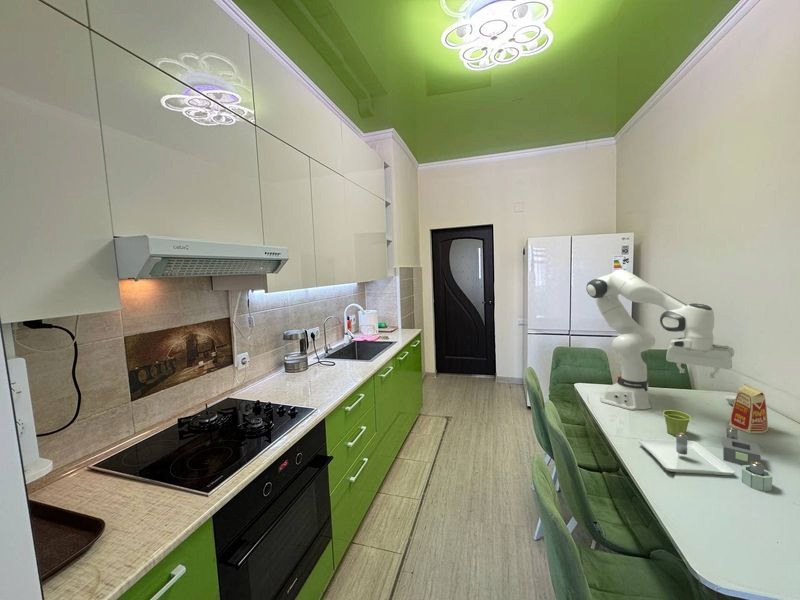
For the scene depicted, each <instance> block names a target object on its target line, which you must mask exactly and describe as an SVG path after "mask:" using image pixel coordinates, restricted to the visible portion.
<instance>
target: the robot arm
mask: <svg viewBox="0 0 800 600" xmlns="http://www.w3.org/2000/svg"><path fill="white" fill-rule="evenodd" d="M586 292H587V294H588V295H589V296H590V298H593V299H595V303H596V306H597V307H598V310H599V312H600V314H601V315H602V316H603V318H604V320H605V321H606V324H607V325H608V327H609V328H610V329H612V330H613V331H615V332H617V333H619V335H617V336H616V337H614V339H612V341H611V348H612V350H613V351H614V352H615V353H616V354H617V355H618V358H619V361H620V373H621V374H618V375H617V376H616V377H617V378H616V383H613V384H611V385H610V386H607V387H606V389H605V392H604V393H603V394H601V395H600V396H599V401H600V402H601V403H604V404H607V405H612V406H614V407H617V408H618V407H619V408H623V409H626V410H629V411H636V410H647V409H648V410H649V409H650V408H651V407H652V405H651V403H650V402H651V401H650V398H649V395H648V394H649V393H648V390H649V381H648V368H647V367H648V366H647V364H646V363H645V361H644V360H643V358H642V352H647V351H649V350H650V349H651V348H653V347H654V346H655V344H656V338H655V336H654V335H653V333H651V332H650V331H648V330H646V329H645V328H643V326H641V325H639V323H637V322H636V321H635V320H634V318H632V316H631V314H629V312H628V311H627V309H626V307H625V306H624V305H623V303H622V302H621V300H620V299H619V295H621V296H622V297H623V298H625V299H627V300H628V301H630V302H633V303H642V304H650V305H651V304H652V305H655V306H659V307H661V308H663V309H665V310H666V311H665V312H662V313H661V315H660V316H659V322H660V323H659V324H660V325H661V327H662V328H663V329H664V330H665V331H667V332H672V333H677V332H681V333H683V334H684V336H681V337H674V338H672V339H670V345H669V346H668V348H667V351H666V356H665V358H666V361H667V362H668V363H669V362H670V363H676V366H677V368H678V370H679V374H684V375H685V368H682V364H683V365H689V366H690V365H691V366H699V367H705V368H713V369H714V371H713V372H710V374H709V378H712V379H716V375H717V374H718V373H719V372H720V369H722V370H731V369H733V359H732V357H734V355H735V350H734V349H733V348H732V347H730V346H729V345H720V344H715V343H714V334H713V330H714V328H715V313H714V310H713V308H712V307H711V306H709V305H707V304H703V303H694V302H693V303H689V304H686V303H684V302H683V301H681V300H679V299H678V298H676V297H674V296H672V295H670V294H669V293H668V292H667V293H666V292H665V291H663V290H661V289H660V288H659V289H658V288H657V287H655V286H653V285H651V284H650V283H648V282H646V281H644V280H643V279H641V278H640V277H638V275H635V274H634V273H632V272H630V271H627V270H625V269H617V270H614V271H613V272H612V273H609V274H604V275H602V276H599V277H598V278H594V279H591V280H590V281H589V282H587V284H586Z"/></svg>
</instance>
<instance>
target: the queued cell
mask: <svg viewBox="0 0 800 600" xmlns="http://www.w3.org/2000/svg"><path fill="white" fill-rule="evenodd" d="M725 435H726V436H725V437H727V438H731V439H736V440H739V429H737V428H735V427H726V434H725Z"/></svg>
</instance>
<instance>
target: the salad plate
mask: <svg viewBox="0 0 800 600" xmlns="http://www.w3.org/2000/svg"><path fill="white" fill-rule="evenodd" d="M637 442H638V443H639V444H640V445H641V446H642V447H643V448H644V449H646V450H647V452H649V453H650V454H651V456H653V457H654V458H655V459H656V460H657V461H658V462H659V463H660V465H661V466H662V467H663V468H664V469H665V470H666V471H668V472H671V473H672V472H673V473H682V474H683V473H686V474H687V473H688V474H705V475H715V476H731V475H734V474H735V473H736V471H735V470H734V469H733V468H731V466H729V465H727V464H726V463H725V462H724V461H722V460H721V459H719V458H718V457H717V456H715V455H714V454H712V453H711V452H710V451H709V450H708V449H706V448H705V447H704V446H702V445H701V444H699V443H698V442H697V441H694V440H687V449H691V450H694V451H695V452H696V453H697V454H699V456H701V457H702V458H703V459H705V460H706V461H707V462H709V463H710V464H711V466H713V467H715V468H716V469H717V470H706V469H693V468H692V469H691V468H677V466H678V460H679V455H680V454H679V453H677V452H676V439H660V438H659V439H657V438H655V439H653V438H637Z"/></svg>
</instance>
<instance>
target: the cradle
mask: <svg viewBox="0 0 800 600" xmlns="http://www.w3.org/2000/svg"><path fill="white" fill-rule="evenodd" d="M722 440H723V441H722V451H723V452H722V455H723V456H722V457H723V462H728V463H733V464H737V465H740V466H743V465H750V462H751V461H754V462H759V463H761V461H762V460H761V458H762V457H761V456H762V455H761V450H760V446H759V443H753V442H750V441H744V440H740V439H738V440H736V439H731V438H727V437H726V436H723V438H722Z"/></svg>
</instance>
